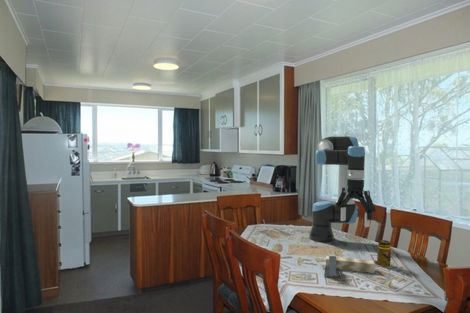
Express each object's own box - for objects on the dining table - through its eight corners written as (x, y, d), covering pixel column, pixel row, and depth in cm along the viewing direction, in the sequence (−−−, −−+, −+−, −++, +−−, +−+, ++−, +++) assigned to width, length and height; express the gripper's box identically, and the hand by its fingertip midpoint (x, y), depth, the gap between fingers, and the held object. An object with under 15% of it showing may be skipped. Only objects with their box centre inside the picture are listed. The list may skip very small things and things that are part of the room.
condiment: (390, 268, 156) (391, 244, 156) (371, 265, 161) (372, 241, 160) (391, 263, 163) (392, 240, 162) (373, 260, 167) (374, 237, 166)
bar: (325, 268, 157) (326, 258, 157) (325, 264, 162) (326, 255, 162) (374, 273, 151) (374, 264, 151) (373, 269, 156) (373, 260, 155)
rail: (324, 268, 156) (325, 255, 156) (339, 270, 154) (340, 256, 154) (324, 276, 146) (324, 262, 146) (340, 278, 144) (341, 264, 144)
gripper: (329, 176, 161) (328, 219, 161) (374, 181, 139) (373, 230, 140) (340, 176, 165) (339, 217, 165) (384, 181, 143) (383, 228, 144)
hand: (354, 223), depth 153 cm, fingers open, 13 cm apart
